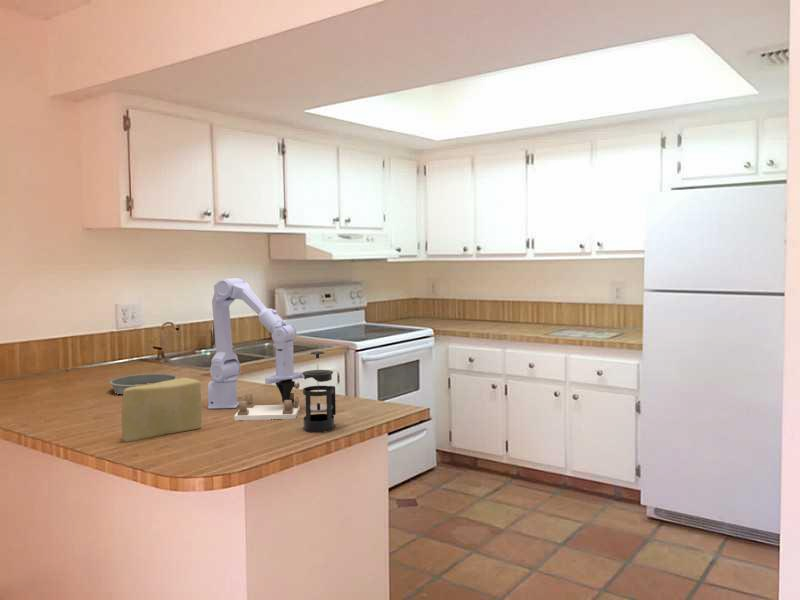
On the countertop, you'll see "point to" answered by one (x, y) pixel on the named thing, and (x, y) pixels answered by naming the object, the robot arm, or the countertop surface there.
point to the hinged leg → (292, 398)
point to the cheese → (161, 409)
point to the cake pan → (138, 380)
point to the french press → (318, 420)
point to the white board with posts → (266, 410)
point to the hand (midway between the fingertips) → (285, 402)
